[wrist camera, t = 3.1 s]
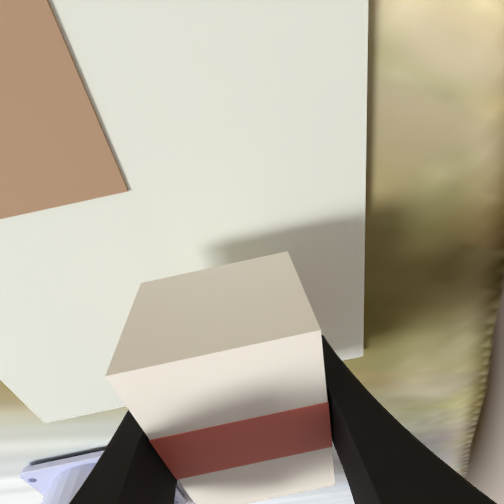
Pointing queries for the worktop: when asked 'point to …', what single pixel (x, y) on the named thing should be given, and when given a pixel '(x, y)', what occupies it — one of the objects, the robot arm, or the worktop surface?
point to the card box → (229, 381)
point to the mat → (170, 169)
